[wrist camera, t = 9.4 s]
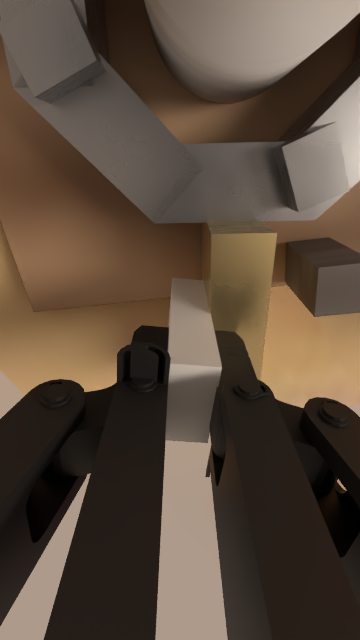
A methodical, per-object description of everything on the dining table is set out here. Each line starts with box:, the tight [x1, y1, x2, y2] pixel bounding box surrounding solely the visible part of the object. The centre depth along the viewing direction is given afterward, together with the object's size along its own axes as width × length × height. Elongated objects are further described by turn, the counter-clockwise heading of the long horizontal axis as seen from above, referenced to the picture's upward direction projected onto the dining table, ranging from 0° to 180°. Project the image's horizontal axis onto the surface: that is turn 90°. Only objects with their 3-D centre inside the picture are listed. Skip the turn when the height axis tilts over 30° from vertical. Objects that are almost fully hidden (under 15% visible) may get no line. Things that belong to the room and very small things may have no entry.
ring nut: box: [0, 0, 360, 380], centre depth 10 cm, size 22×14×5 cm, turn 1°
